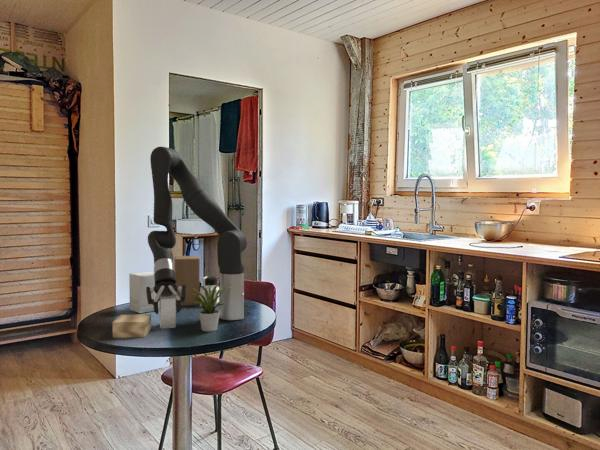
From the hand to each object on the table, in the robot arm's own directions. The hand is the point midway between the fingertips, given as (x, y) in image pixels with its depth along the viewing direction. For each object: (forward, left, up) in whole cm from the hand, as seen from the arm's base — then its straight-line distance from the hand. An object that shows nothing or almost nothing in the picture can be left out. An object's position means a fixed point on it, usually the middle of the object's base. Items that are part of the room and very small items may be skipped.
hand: (167, 312), depth 163 cm
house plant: (-16, +2, -6) cm, 17 cm away
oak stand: (+10, +6, -5) cm, 13 cm away
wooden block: (-2, -39, -6) cm, 39 cm away
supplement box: (+13, -27, -6) cm, 30 cm away
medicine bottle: (-12, -36, -6) cm, 38 cm away
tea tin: (0, -2, -5) cm, 6 cm away
